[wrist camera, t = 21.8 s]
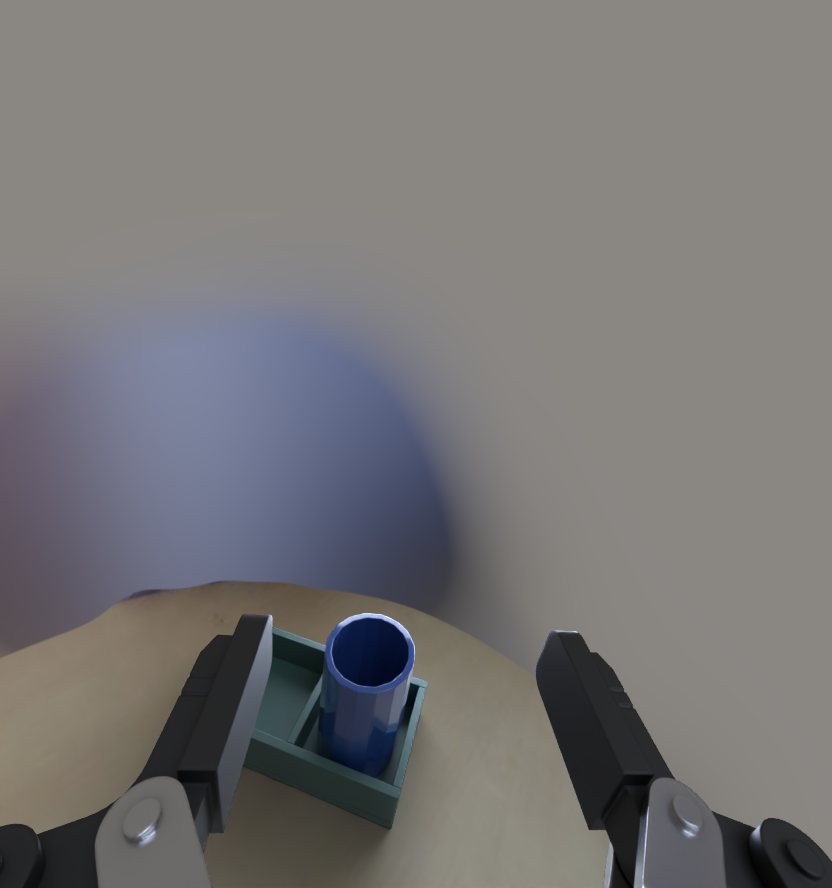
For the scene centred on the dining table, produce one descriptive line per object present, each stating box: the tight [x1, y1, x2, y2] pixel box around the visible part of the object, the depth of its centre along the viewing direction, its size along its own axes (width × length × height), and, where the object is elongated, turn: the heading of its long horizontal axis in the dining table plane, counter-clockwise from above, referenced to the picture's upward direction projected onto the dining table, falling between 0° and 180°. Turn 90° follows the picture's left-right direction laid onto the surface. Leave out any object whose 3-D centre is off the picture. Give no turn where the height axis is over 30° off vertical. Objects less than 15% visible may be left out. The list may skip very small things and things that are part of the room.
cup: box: [317, 613, 415, 778], centre depth 29 cm, size 6×6×10 cm
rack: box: [243, 627, 427, 829], centre depth 31 cm, size 8×16×4 cm, turn 75°
